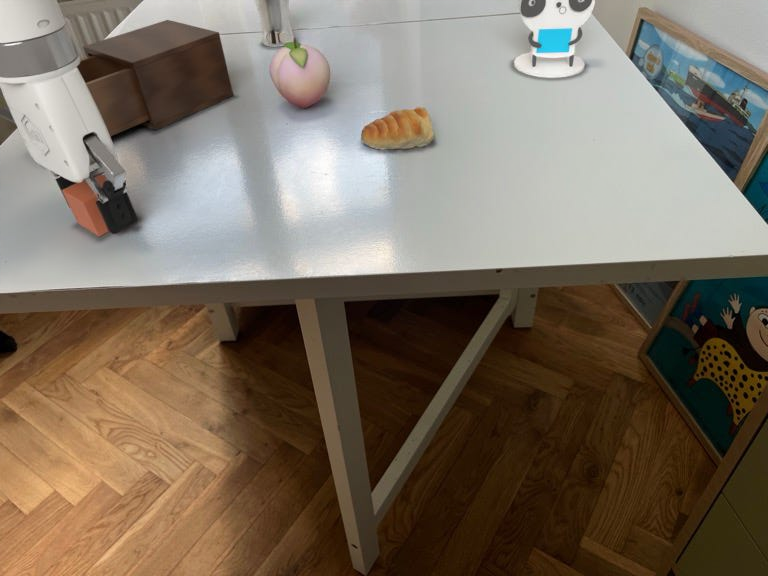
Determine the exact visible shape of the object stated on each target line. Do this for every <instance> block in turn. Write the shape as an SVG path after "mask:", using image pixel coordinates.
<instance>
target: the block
mask: <svg viewBox="0 0 768 576" xmlns="http://www.w3.org/2000/svg"><path fill="white" fill-rule="evenodd" d="M95 179H96V180H97V182H98V183H99V185H100V186H101V188H102V186H103V183H104V182H105V181H107V179H106V175H104V174H101V175H99V176H97V177H95ZM62 192H63V194H64V196H65V198H66V200H67V202H68V204H69V206H70V208H69V209H70V210H71V212H72V214H73V216H74V218H75V220H76V222H77V224H78V225H79V226H82V228H84V229H86V230H88V231H89V232H91V233H93V234H94V235H96V236H98V237H101V236H103V235H105V234H107V233H110V232H109V231H108V229H107V226H106V224H105V222H104V220H103V218H102V215H101V213H100V211H99V209H98V207H97V204H96V201H98V200H99V199H98V198H97V196H96V195H95V193H94V192H93V191H92V189H91V188H90V186H89V185H88V183H87V182H86V180H85V179H84V180H83V182H81V183H76V184H74V185H72V186H69V187H67V188H65V189H63V190H62ZM62 192H61V193H62ZM63 194H62V195H63ZM64 196H63V197H64ZM65 198H64V199H65ZM66 200H65V201H66ZM67 202H66V203H67ZM68 204H67V205H68ZM69 206H68V207H69Z"/></svg>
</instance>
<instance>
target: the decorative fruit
mask: <svg viewBox="0 0 768 576" xmlns="http://www.w3.org/2000/svg"><path fill="white" fill-rule="evenodd" d="M293 40H294V41H293V42H287V43H285V44H284V46H282V48H281V47H280V49H278V50H277V51H276V52H275V53H274V54H273V56H272V58H271V60H270V64H269V76H270V79H271V81H272V83H273V85H274V87H275V89H276V91H278V94H280V95H281V96H282V97H283V98H284V99H285V100H286V101H287V102H289V104H291V105H293V106H295V107H297V108H299V109H306V108H309V107H311V106H312V105H315V104H316V103H317V102H318V101H320V100H321V99H322V98H323V97H324V95H325V93H326V92H327V90H328V88H329V86H330V82H331V67H330V64H329V62H328V60H327V58H326V57H325V55H324V54H323V53H322V52H321V51H320V50H318V49H317V48H316V47H313V46H312V45H309V44H302V43H301V42H299V41H297V39H296V38H295V37H294V38H293Z"/></svg>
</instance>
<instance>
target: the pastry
mask: <svg viewBox="0 0 768 576" xmlns="http://www.w3.org/2000/svg"><path fill="white" fill-rule="evenodd" d="M434 139H435V130H434V127H433V123H432V121H431V116H430V113H429V112H428V110H427V109H426V108H425V107H421V106H416V108H415V109H401V110H393V111H391V112H390V113H389V114H386V115H385V116H382V117H381V118H377V119H375V120H373V121H372V122H370V123H368V124H366V125H365V126H363V129H362V130H361V134H360V140H361V142H362V143H363V144H365V145H366V146H369V147H370V148H372V149H376V150H381V151H385V150H392V151H393V150H407V149H412V148H415V147H418V148H422V147H425V146H428V145H430V144H432V142H433V140H434Z"/></svg>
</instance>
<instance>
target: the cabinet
mask: <svg viewBox="0 0 768 576" xmlns="http://www.w3.org/2000/svg"><path fill="white" fill-rule="evenodd" d="M220 35H221V34H220V32H219V31H216V30H212V29H207V28H203V27H199V26H195V25H190V24H188V23H187V24H186V23H183V22H179V21H174V20H171V19H166V20H162V21H158V22H156V23H153V24H149V25H147V26H146V25H145V26H144V27H140V28H137V29H134V30H130V31H127V32H124V33H120V34H118V35H114V36H111V37H108V38H105V39H102V40H99V41H96V42H93V43H89V44H86V45H82V49H83V51H84V53H85V56H86V57H89V56H92V55H95V56H98V57H101V58H104V59H107V60H110V61H113V62H116V63H119V64H122V65H125V66H128V67H131V68H132V71H133V74H134V76H135V79H136V82H137V85H138V88H139V91H140V94H141V97H142V100H143V103H144V106H145V109H146V112H147V115H148V118H149V120H148V121H145V122H143V123H141V124H140V125H141V126H144V127H146V128H149V129H150V130H154V131H158V130H160V129H162V128H164V127H168V126H169V125H171V124H173V123H175V122H178V121H180V120H183V119H185V118H186V117H189V116H191V115H194V114H195V113H198V112H201V111H203V110H205V109H208V108H209V107H211V106H214V105H216V104H218V103H220V102H222V101H225V100H227V99H229V98H231V97H234V93H233V88H232V83H231V79H230V74H229V70H228V65H227V61H226V58H225V57H226V56H225V53H224V48H223V43H222V39H221V36H220Z"/></svg>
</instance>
